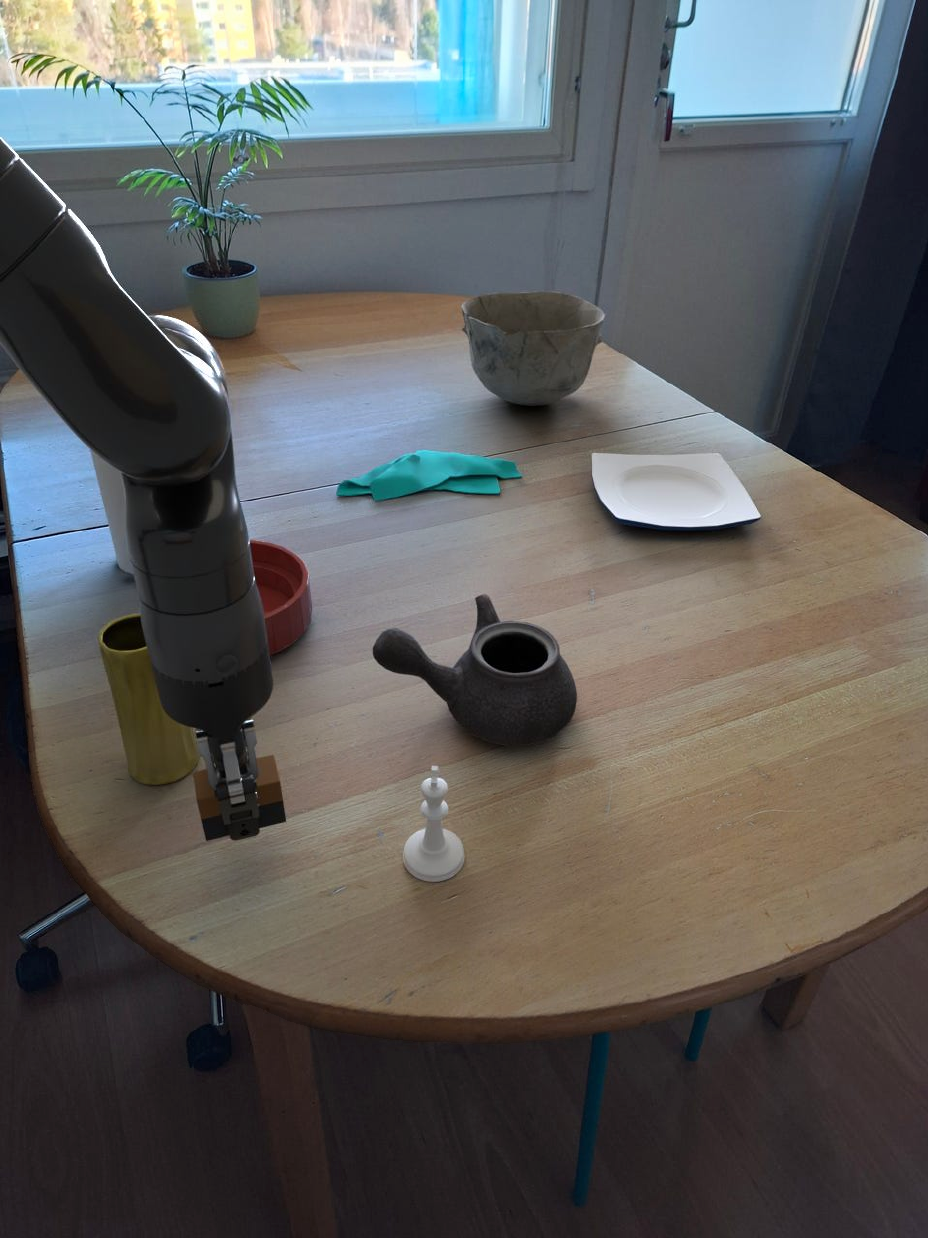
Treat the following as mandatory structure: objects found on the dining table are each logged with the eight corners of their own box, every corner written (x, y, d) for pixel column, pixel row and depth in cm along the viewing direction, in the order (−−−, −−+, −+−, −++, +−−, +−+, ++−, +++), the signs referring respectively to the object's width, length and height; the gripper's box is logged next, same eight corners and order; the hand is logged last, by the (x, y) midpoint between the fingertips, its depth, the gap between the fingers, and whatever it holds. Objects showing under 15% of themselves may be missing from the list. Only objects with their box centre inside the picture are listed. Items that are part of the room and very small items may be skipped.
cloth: (511, 451, 129) (512, 436, 128) (529, 495, 119) (530, 480, 117) (335, 457, 126) (334, 442, 125) (336, 503, 115) (335, 487, 114)
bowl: (442, 383, 150) (443, 294, 141) (554, 368, 157) (562, 282, 149) (496, 434, 134) (501, 337, 125) (618, 415, 141) (631, 321, 132)
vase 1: (120, 579, 100) (79, 414, 88) (115, 548, 105) (76, 388, 93) (221, 561, 103) (194, 400, 91) (211, 531, 109) (185, 376, 97)
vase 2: (116, 757, 77) (78, 629, 69) (180, 727, 81) (151, 600, 72) (147, 797, 74) (111, 667, 65) (212, 763, 77) (187, 635, 69)
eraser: (206, 841, 65) (196, 800, 63) (202, 812, 68) (192, 771, 65) (286, 822, 67) (280, 781, 64) (279, 794, 69) (273, 753, 66)
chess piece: (465, 833, 72) (468, 745, 66) (463, 883, 68) (467, 795, 62) (405, 831, 72) (403, 743, 66) (400, 881, 68) (397, 792, 62)
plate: (766, 539, 111) (771, 521, 109) (607, 540, 110) (610, 522, 108) (720, 466, 127) (723, 449, 126) (581, 466, 126) (583, 449, 124)
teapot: (534, 641, 93) (541, 561, 87) (596, 739, 81) (609, 655, 75) (359, 673, 88) (354, 591, 82) (399, 783, 76) (396, 696, 70)
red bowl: (162, 684, 85) (151, 639, 82) (153, 593, 98) (143, 552, 94) (326, 653, 90) (322, 610, 87) (297, 571, 102) (293, 530, 99)
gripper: (142, 591, 61) (184, 765, 71) (154, 723, 51) (200, 905, 61) (251, 573, 63) (276, 745, 73) (283, 697, 53) (307, 877, 63)
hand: (242, 816), depth 67 cm, fingers closed on eraser, 3 cm apart
